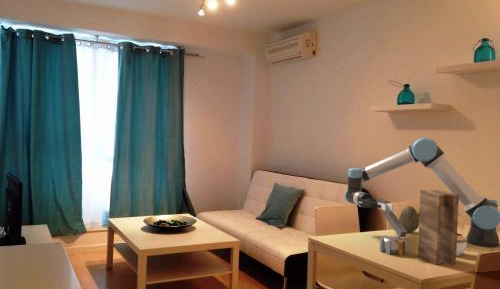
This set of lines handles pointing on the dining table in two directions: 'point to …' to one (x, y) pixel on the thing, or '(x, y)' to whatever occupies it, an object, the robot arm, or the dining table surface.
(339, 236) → the dining table surface
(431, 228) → the tall wooden pillar
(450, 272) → the dining table surface
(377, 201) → the steel bar
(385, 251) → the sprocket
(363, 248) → the dining table surface
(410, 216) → the decorative egg
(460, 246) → the lidded jar
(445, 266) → the dining table surface
